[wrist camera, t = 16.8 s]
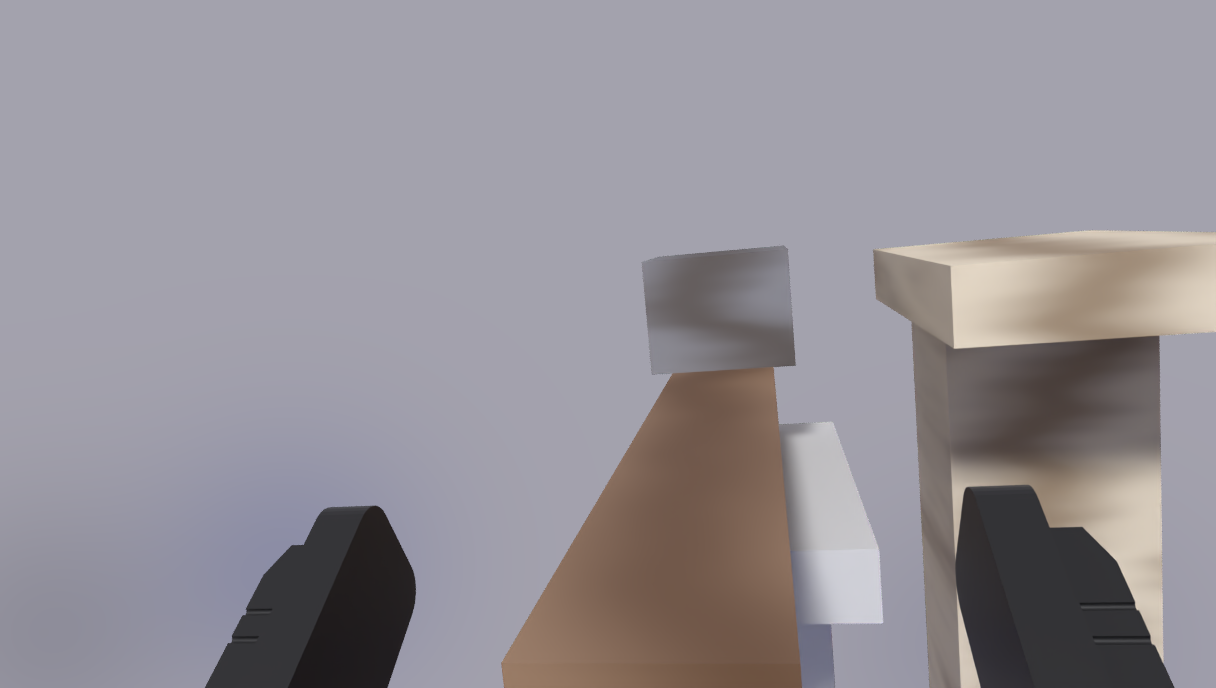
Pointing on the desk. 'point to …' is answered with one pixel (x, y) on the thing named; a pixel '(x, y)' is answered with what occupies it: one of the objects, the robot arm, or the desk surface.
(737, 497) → the hammer
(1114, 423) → the tall stand
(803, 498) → the white pedestal
